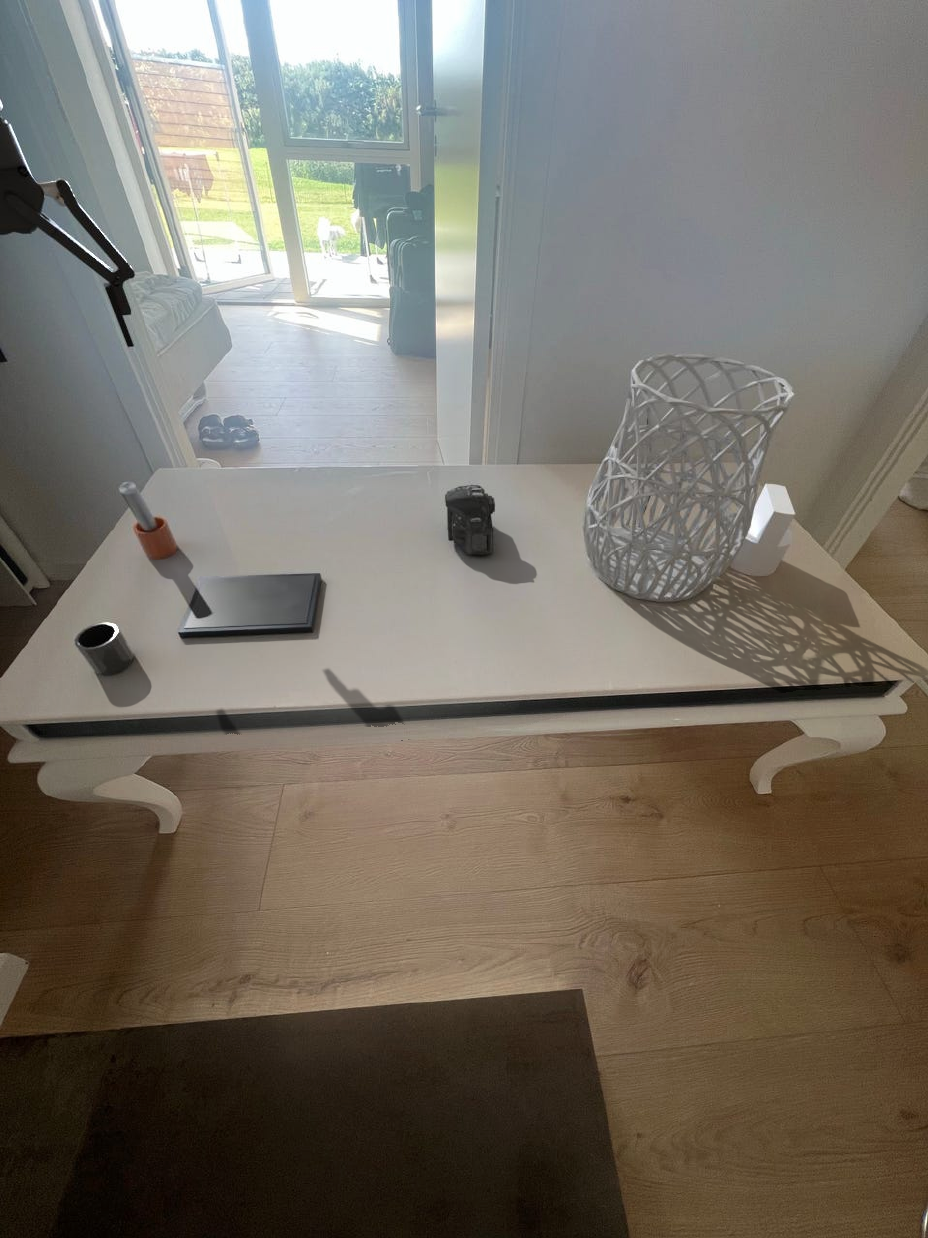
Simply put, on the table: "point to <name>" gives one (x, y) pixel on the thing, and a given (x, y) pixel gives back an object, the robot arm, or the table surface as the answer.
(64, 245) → the robot arm
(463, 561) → the table surface
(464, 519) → the camera
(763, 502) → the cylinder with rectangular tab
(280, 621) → the tablet
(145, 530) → the silver metal rod
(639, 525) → the vase
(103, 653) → the pen stand
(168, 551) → the pen cup
